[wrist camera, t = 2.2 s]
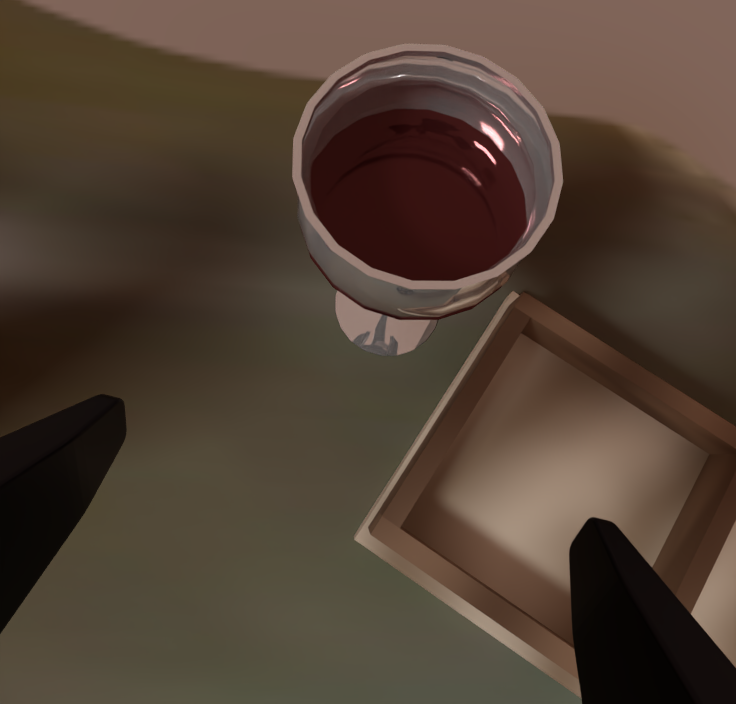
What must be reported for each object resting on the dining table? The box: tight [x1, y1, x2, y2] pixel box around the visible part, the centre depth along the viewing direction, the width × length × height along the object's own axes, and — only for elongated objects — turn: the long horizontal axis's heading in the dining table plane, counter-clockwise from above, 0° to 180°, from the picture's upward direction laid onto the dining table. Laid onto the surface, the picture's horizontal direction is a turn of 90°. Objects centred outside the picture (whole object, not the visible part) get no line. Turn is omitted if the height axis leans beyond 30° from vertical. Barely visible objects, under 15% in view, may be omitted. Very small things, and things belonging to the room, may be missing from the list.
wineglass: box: [292, 44, 563, 355], centre depth 18 cm, size 7×7×12 cm
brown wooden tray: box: [354, 291, 736, 698], centre depth 21 cm, size 21×13×3 cm, turn 56°
